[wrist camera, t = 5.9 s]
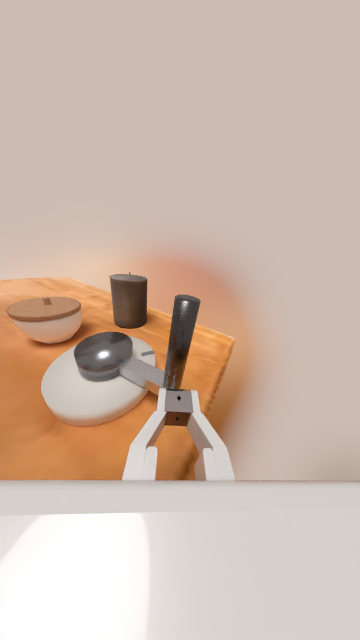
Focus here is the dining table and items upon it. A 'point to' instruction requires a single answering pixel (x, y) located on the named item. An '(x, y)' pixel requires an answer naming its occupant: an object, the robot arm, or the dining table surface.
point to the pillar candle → (129, 300)
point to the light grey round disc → (91, 390)
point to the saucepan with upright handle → (117, 358)
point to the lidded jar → (47, 318)
